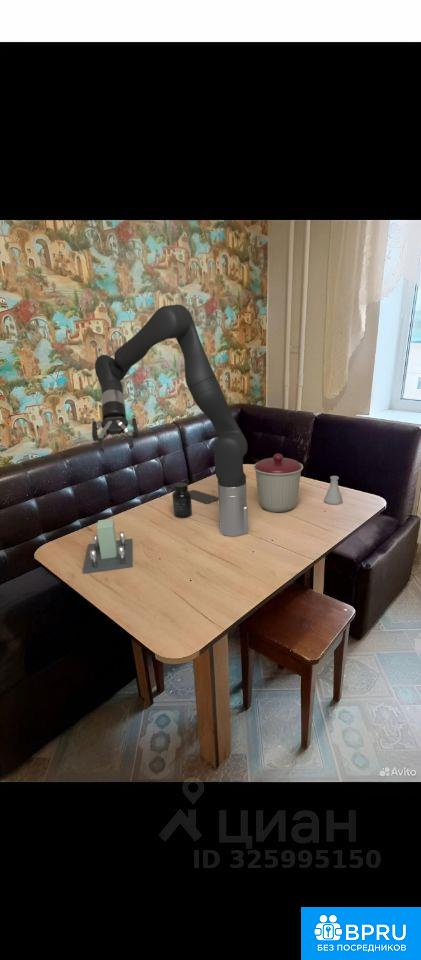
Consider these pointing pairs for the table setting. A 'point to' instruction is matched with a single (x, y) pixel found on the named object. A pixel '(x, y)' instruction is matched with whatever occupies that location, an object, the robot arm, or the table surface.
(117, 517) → the table surface
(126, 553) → the plate
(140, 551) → the table surface
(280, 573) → the table surface
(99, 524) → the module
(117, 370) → the robot arm
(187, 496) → the supplement bottle
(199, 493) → the smartphone
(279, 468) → the canister
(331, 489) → the flask
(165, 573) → the table surface
